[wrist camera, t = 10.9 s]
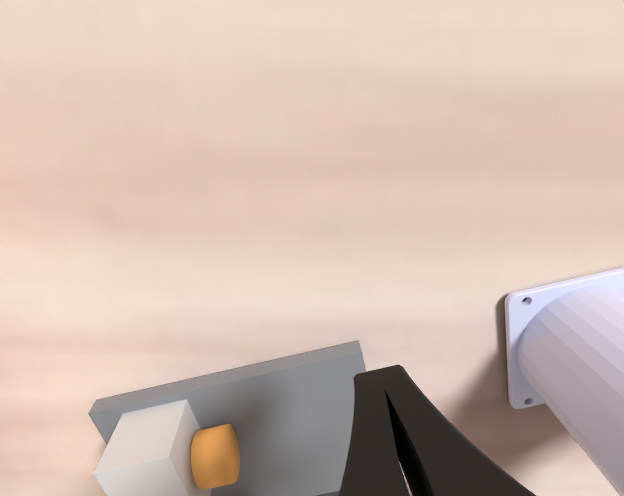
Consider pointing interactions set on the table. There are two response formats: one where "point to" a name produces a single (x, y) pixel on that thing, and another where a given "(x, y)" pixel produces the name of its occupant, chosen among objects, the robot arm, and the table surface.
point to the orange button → (215, 457)
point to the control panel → (236, 428)
